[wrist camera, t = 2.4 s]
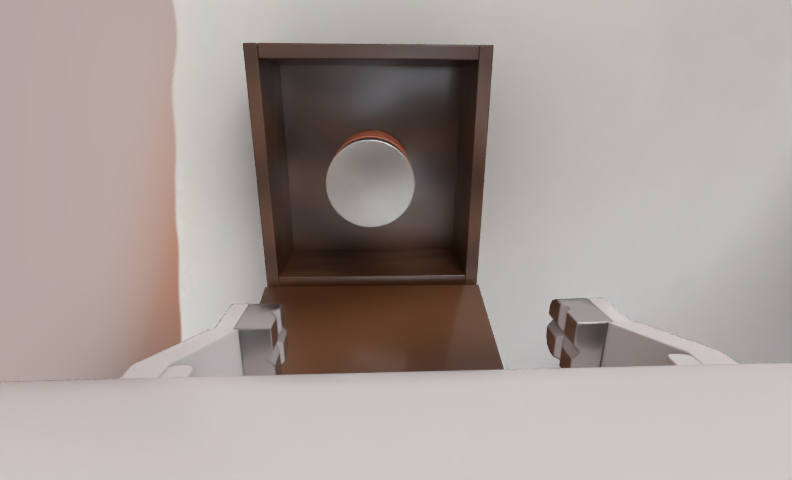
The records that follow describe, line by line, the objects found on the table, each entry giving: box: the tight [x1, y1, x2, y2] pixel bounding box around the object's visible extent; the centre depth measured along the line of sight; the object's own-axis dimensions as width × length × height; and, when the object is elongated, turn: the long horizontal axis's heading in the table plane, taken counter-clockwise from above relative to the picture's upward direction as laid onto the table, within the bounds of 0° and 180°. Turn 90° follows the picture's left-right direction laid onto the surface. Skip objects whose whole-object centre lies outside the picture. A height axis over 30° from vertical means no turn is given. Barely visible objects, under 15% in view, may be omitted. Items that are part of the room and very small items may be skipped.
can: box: [326, 129, 415, 228], centre depth 31 cm, size 6×6×9 cm
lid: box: [260, 285, 504, 375], centre depth 24 cm, size 18×16×1 cm
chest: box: [243, 43, 493, 287], centre depth 33 cm, size 17×16×7 cm
